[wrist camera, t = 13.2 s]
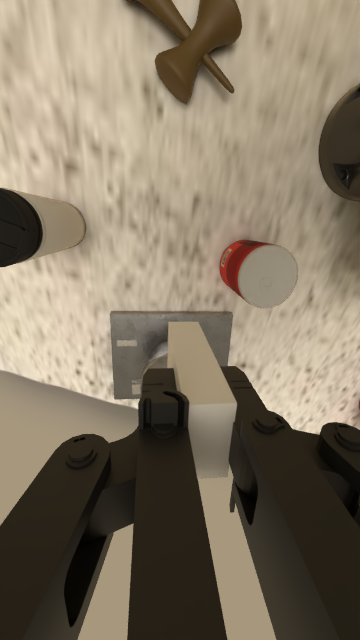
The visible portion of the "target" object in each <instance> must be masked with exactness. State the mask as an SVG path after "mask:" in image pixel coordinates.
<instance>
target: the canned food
mask: <svg viewBox="0 0 360 640" xmlns="http://www.w3.org/2000/svg"><path fill="white" fill-rule="evenodd" d="M220 274H221V277H222V279H223V281H224V282H225V283H226V285H228V286H229V287H230V288H231V289H232V290H233V291H235V292H236V293H237V294H238V295H239V296H241V297H242V298H243V299H244V300H245V301H247V302H248V303H249V304H251V305H253V306H256V307H259V308H271V307H274V306H277V305H279V304H281V303H282V302H284V301H285V300H286V299H287V298H288V297H289V296H290V294H291V293H292V291H293V290H294V288H295V285H296V283H297V278H298V268H297V263H296V261H295V258H294V257H293V255H292V254H291V253H290V252H289V251H288V250H286V249H285V248H283V247H281V246H277V245H273V244H268V243H262V242H256V241H250V240H241V241H238V242H235V243H233V244H232V245H230V246H229V247H228V248H227V249H226V251H225V252H224V254H223V256H222V258H221V261H220Z"/></svg>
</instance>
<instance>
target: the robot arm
mask: <svg viewBox="0 0 360 640" xmlns="http://www.w3.org/2000/svg"><path fill="white" fill-rule="evenodd" d="M319 159H320V166H321V170H322V173H323V176H324V178H325V180H326V182H327V184H328V185H329V186H330V188H331V189H332V190H333V191H334V192H336V193H337V194H338V195H340V196H342V197H344V198H347V199H351V200H360V84H359V85H357V86H356V87H354V88H353V89H351V90H350V91H349V92H348V93H346V94H345V95H344V96H343V97H342V98H341V99H340V100H339V102H338V103H337V104H336V105H335V107H334V108H333V110H332V111H331V113H330V115H329V117H328V119H327V121H326V123H325V126H324V129H323V132H322V135H321V140H320V148H319ZM138 412H139V426H138V427H137V429H136V430H135V431H134V432H133V433H132V434H130V435H129V436H127V437H125V438H123V439H120V440H118V441H115V442H111V443H108V442H107V441H106V440H105V439H104V438H103V437H101V436H98V435H95V434H82V435H79V436H75V437H72V438H70V439H69V440H67V441H65V442H63V443H62V444H61V445H60V446H59V447H58V448H57V449H56V450H55V452H54V453H53V454H52V456H51V457H50V458H49V460H48V461H47V462H46V464H45V465H44V467H43V468H42V469H41V471H40V472H39V473H38V475H37V476H36V478H35V479H34V480H33V482H32V483H31V485H30V486H29V487H28V489H27V490H26V491H25V493H24V494H23V495H22V497H21V498H20V499H19V501H18V502H17V504H16V505H15V506H14V508H13V509H12V510H11V512H10V513H9V515H8V516H7V518H6V519H5V520H4V522H3V523H2V524H1V526H0V640H77V639H78V636H79V633H80V630H81V627H82V625H83V621H84V619H85V616H86V613H87V610H88V607H89V604H90V601H91V598H92V595H93V592H94V589H95V587H96V584H97V581H98V578H99V575H100V572H101V569H102V566H103V563H104V560H105V557H106V554H107V551H108V549H109V545H110V542H111V540H112V537H113V532H115V531H117V530H119V529H121V528H124V527H126V526H128V525H130V524H133V523H134V526H133V545H132V563H131V582H130V600H129V619H128V637H127V640H227V636H226V630H225V625H224V619H223V614H222V609H221V603H220V598H219V592H218V587H217V582H216V577H215V571H214V565H213V560H212V555H211V549H210V544H209V538H208V533H207V528H206V523H205V517H204V511H203V506H202V501H201V496H200V490H199V484H198V479H201V478H217V477H227V476H228V469H229V464H230V467H231V470H232V473H233V476H234V478H233V484H232V491H231V498H230V512H234V508H235V503H236V506H237V509H238V513H239V516H240V519H241V523H242V526H243V529H244V533H245V536H246V539H247V542H248V546H249V549H250V552H251V556H252V559H253V563H254V566H255V569H256V573H257V576H258V579H259V583H260V586H261V589H262V593H263V596H264V599H265V603H266V606H267V609H268V613H269V616H270V619H271V623H272V626H273V629H274V632H275V636H276V639H277V640H360V430H359V429H357V428H355V427H352V426H350V425H347V424H343V423H337V422H333V423H327V424H325V425H323V426H322V429H321V432H320V435H318V434H312V433H307V432H302V431H298V430H294V429H292V428H291V427H290V425H289V424H288V422H287V421H286V420H285V419H284V418H283V417H281V416H280V415H278V414H276V413H275V412H272V411H269V410H267V408H266V407H265V405H264V404H263V402H262V400H261V399H260V397H259V396H258V394H257V392H256V391H255V389H253V386H252V384H251V383H250V382H249V380H248V378H247V376H246V375H245V373H244V372H243V371H241V370H240V369H238V368H237V367H236V366H219V364H218V362H217V360H216V358H215V356H214V354H213V352H212V350H211V348H210V345H209V343H208V341H207V339H206V337H205V335H204V333H203V331H202V329H201V327H200V325H199V322H168V360H167V368H150V369H148V370H147V371H146V372H145V373H144V375H143V381H142V397H141V398H140V401H139V403H138Z"/></svg>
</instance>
